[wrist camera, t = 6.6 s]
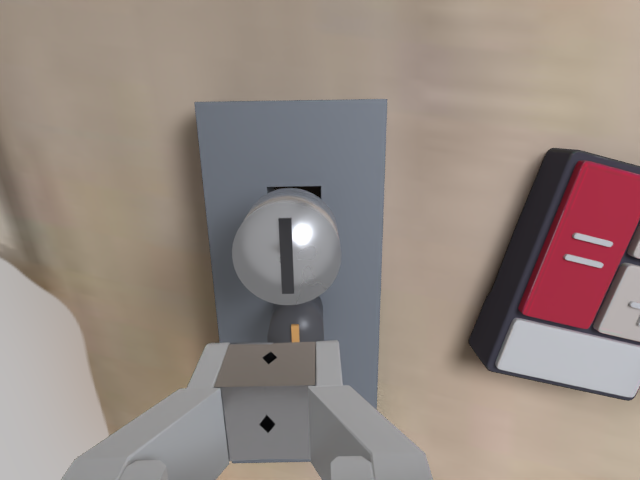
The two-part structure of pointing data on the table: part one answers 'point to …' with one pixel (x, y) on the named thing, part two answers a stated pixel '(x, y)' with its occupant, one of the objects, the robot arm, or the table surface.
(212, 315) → the table surface
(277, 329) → the dial
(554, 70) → the table surface
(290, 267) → the knob
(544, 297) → the calculator
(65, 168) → the table surface
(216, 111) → the panel
